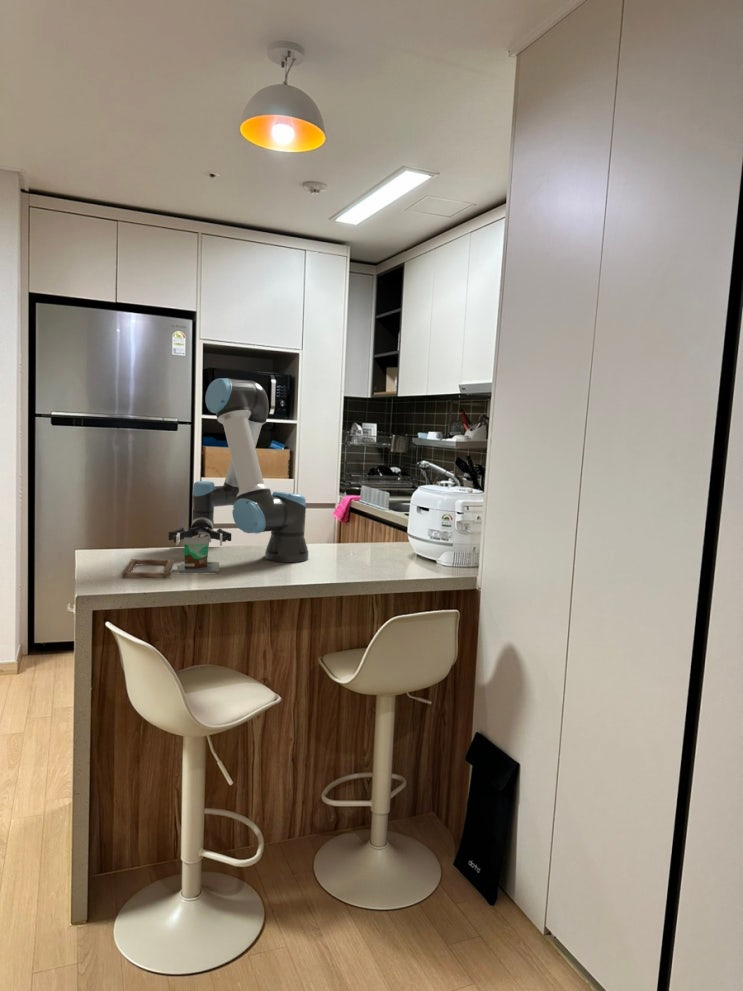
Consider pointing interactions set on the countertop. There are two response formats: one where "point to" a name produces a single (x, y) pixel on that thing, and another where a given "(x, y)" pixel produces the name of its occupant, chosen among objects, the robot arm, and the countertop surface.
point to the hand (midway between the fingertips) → (199, 541)
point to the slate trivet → (210, 568)
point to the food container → (196, 550)
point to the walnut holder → (133, 562)
